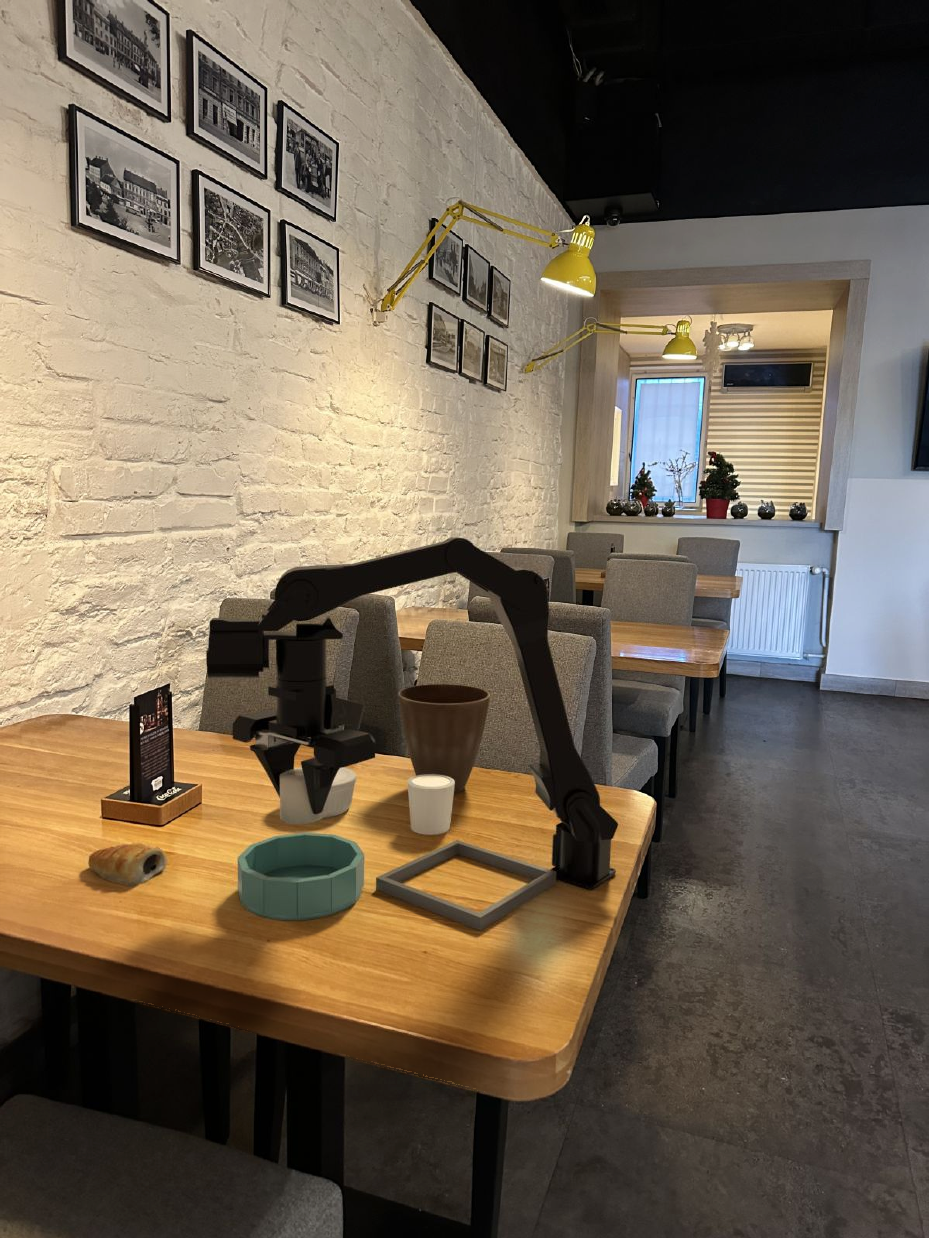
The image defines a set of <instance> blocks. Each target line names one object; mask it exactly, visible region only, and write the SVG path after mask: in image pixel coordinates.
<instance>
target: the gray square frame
mask: <svg viewBox="0 0 929 1238" xmlns="http://www.w3.org/2000/svg"><path fill="white" fill-rule="evenodd" d="M457 855H459V856H462V857H465V858H468V859H472V860H473V861H474V860H475V861H478V862H481V863H483V864H486V865H489V866H493V867H495V868H499V869H501V870H505V871H506V872H507V871H508V872H509V873H510V872H511V873H514V874H516V875H520V876H522V877H525V878H529V879H531V880H532V881H530V882H529V883H527V884H524V886H522V887H520V888H518V889H517V890H515V891H513V892H511V893H510V894H508V895H506V896H505V897H503V898H501V899H500V900H498V901H496V902H495V903H493V904H491V905H490V906H488V907H486V908H484V909H483V910H481V911H475V910H473V909H470V908H468V907H465V906H462V905H460V904H457V903H454V902H452V901H449V900H446V899H444V898H441V897H439V896H436V895H433V894H431V893H427V892H426V891H423V890H420V889H418V888H415V887H412V886H410V885H408V884H404V883H402V882H403V881H405V880H407V879H410V878H411V877H413V876H415V875H417V874H419V873H422V872H423V871H427V870H428V869H430V868H432V867H434V866H436V865H438V864H441V863H442V862H444V861H446V860H448V859H451V858H453V857H455V856H457ZM556 884H557V878H556V872H555V871H552V870H550V869H549V868H546V867H543V866H540V865H536V864H533V863H529V862H527V861H525V860H520V859H518V858H514V857H512V856H508V855H505V854H502V853H498V852H496V851H492V850H490V849H486V848H483V847H480V846H477V845H473V844H470V843H468V842H464V841H461V840H457V839H456V840H455V841H451V842H450V843H448V844H447V843H446V844H445V845H443V846H441V847H438V848H437V849H434V850H433V851H430V852H429V853H426V854H424V855H422V856H419V857H417V858H416V859H414V860H410V861H408V862H407V863H404V864H402V865H400V866H398V867H396V868H394V869H391V870H390V871H387V872H385V873H382V874H380V875H379V876H377V877H375V890H377V892H378V891H379V892H381V893H384V894H386V895H389V896H391V897H394V898H396V899H399V900H402V901H404V902H407V903H409V904H412V905H414V906H417V907H420V908H422V909H424V910H427V911H429V912H431V913H433V914H434V913H435V914H437V915H439V916H442V917H445V918H447V919H449V920H453V921H455V922H458V923H460V924H462V925H465V926H466V927H467V926H468V927H469V928H472V929H475V930H477V931H482V930H483V929H485V928H487V927H488V926H491V925H492V924H493V923H495V922H497V921H498V920H499V919H501V918H503V917H504V916H506V915H508V914H509V913H511V912H512V911H514V910H516V909H517V908H519V907H521V906H522V905H524V904H526V903H527V902H529V901H530V900H532V899H533V898H536V897H537V896H538V895H540V894H541V893H543V892H544V891H546V890H548V889H550V888H551V887H553V886H554V885H556Z"/></svg>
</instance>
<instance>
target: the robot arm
mask: <svg viewBox="0 0 929 1238" xmlns="http://www.w3.org/2000/svg"><path fill="white" fill-rule="evenodd" d="M454 573H455V574H458V575H460V576H461V577H463V578H464V579H466V580H468V581H469V582H471V583H472V584H473V585H475V586H477V587H479V588H480V589H482V590H484V591H485V593H486V592H487V593H488V598H489V600H490V602H491V604H492V606H493V609H494V611H495V614H496V616H497V618H498V620H499V622H500V623H501V626H502V627H503V629H504V631H505V632H506V635H507V636H508V637H509V639H510V641H511V644H512V646H513V650H514V653H515V658H516V661H517V665H518V669H519V672H520V676H521V680H522V683H523V687H524V692H525V695H526V699H527V702H528V706H529V707H528V708H529V711H530V715H531V717H532V721H533V722H532V723H533V726H534V729H535V730H534V731H535V733H536V736H537V742H538V745H539V749H540V750H539V762H538V763H534V764H533V763H532V764H529V766H528V767H529V769H530V772H531V774H532V776H533V778H534V783H535V791H534V792H535V793H534V794H536V796H537V797H538V798H539V799H540V800H541V801H542V803H543V804H544V805H545V806H546V807H547V809H548V810H549V811H553V813H554V814H555V816H556V818H557V819H559V820H560V821H561V822H559V823H557V824H555V833H554V834H553V835H552V843H551V844H552V845H551V846H552V848H551V866H553V867H552V868H551V869H549V870H552V871H555V872H556V880H561V881H564V882H567V883H569V884H572V885H577V886H579V887H582V888H585V889H587V890H588V889H589V890H592V889H595V888H597V887H598V886H599V885H601V884H602V883H604V882H605V881H607V880H608V879H611V877H613V876H614V875H615V874H617V873H616V871H617V870H616V869H615V868H612V867H611V854H612V853H611V851H612V850H611V849H612V840H613V839H614V837H615V834H616V832H617V830H618V829H617V828H618V826H619V823H618V821H617V820H615V818H613V816H612V815H610V814H609V813H608V811H607V810H605V808H603V806H602V805H601V796H600V793H599V791H598V789H597V787H596V785H595V781H594V780H593V778H592V776H591V774H590V772H589V769H588V768H587V767H586V764H585V762H584V761H583V759H582V757H581V755H580V754H579V752H578V750H577V748H576V745H575V742H574V738H573V735H572V731H571V726H570V723H569V718H568V715H567V714H568V713H567V711H566V706H565V703H564V699H563V695H562V691H561V687H560V683H559V680H558V676H557V671H556V667H555V663H554V660H553V659H554V658H553V655H552V651H551V648H550V643H549V637H548V635H549V628H550V627H549V625H550V615H551V614H550V603H549V592H548V586H547V584H546V582H545V580H544V579H543V577H542V576H541V575H539V574H538V573H537V572H535V571H533V570H530V569H526V568H521V567H518V566H514V565H513V566H511V565H510V566H509V565H508V564H506V563H504V562H503V561H501V560H499V559H497V558H496V557H494V556H492V555H491V554H488V553H487V552H486V551H483V550H482V549H480V548H479V547H477V546H475V545H474V543H473V542H471V541H470V540H469V539H466V538H463V537H459V536H454V537H448V538H446V539H445V540H442V541H440V542H436V543H431V544H427V545H424V546H419V547H416V548H412V549H407V550H403V551H399V552H396V553H395V552H394V553H390V554H386V555H383V556H379V557H375V558H371V559H367V560H361V561H359V562H358V561H357V562H354V563H343V564H341V563H340V564H322V565H321V564H320V565H319V564H318V565H317V564H316V565H305V566H304V565H302V566H301V565H300V566H295V567H293V568H290V569H287V570H286V571H285V572H284V573H282V575H281V576H280V578H279V579H278V581H277V583H276V586H275V589H274V600H273V601H272V602H271V604H270V605H269V607H268V608H267V609H264V610H263V611H262V613H261V618H260V619H259V618H257V619H254V618H253V619H249V618H248V619H247V618H246V619H241V618H240V619H239V618H238V619H229V618H226V617H212V618H211V619H210V621H209V632H208V644H207V645H208V646H207V650H206V651H205V652H206V653H205V654H206V655H205V657H206V658H205V660H206V673H207V674H206V675H207V678H208V679H258V678H259V679H260V678H261V673H264V672H265V671H264V669H265V670H270V668H271V640H274V641H275V684H274V685H270V686H267V688H268V689H267V691H268V692H267V693H268V695H267V696H270V697H275V702H276V703H275V705H276V706H275V710H272V709H268V708H267V709H263V710H257V711H253V712H248V713H244V714H239V715H237V717H236V718H235V720H234V721H233V723H232V740H235V741H237V742H238V741H239V742H243V743H246V744H248V743H250V742H252V741H253V739H254V744H251V745H250V746H249V750H250V751H251V752H253V753H254V754H255V756H256V758H257V759H258V761H259V762H260V765H261V767H262V768H263V769H264V771H265V772H266V775H267V776H268V778H269V780H270V782H271V784H272V786H273V787H274V789H275V792H276V794H277V796H278V797H279V799H280V774H281V773H283V772H285V771H288V770H293V769H295V757H296V755H297V752H298V750H299V749H300V747H301V746H304V747H308V748H313V757H312V758H308V759H305V760H302V761H300V764H301V766H300V767H302V770H303V775H304V779H305V784H306V788H307V793H308V797H309V802H310V805H311V809H312V812H313V814H315V815H317V814H319V813H321V812H322V811H323V808H324V805H325V803H326V800H327V797H328V794H329V792H330V789H331V786H332V783H333V781H334V778H335V776H336V774H337V772H338V770H339V769H340V768H343V767H345V768H347V767H349V766H353V765H356V764H359V763H362V762H365V761H369V760H372V759H375V758H376V739H375V738H374V737H373V736H372V734H370V732H364V731H361V730H360V727H361V723H362V719H363V715H364V713H365V712H364V711H365V708H366V705H365V704H363V703H359V702H357V701H354V700H350V699H344V698H342V697H337V688H336V687H335V684H332V683H327V682H328V680H327V678H328V677H327V675H328V674H327V673H328V672H327V671H328V670H327V667H328V666H327V665H328V663H327V660H328V658H327V657H328V655H327V648H328V647H327V646H328V645H327V640H341V639H343V637H344V634H343V630H342V629H341V628H339V626H337V625H336V624H335V623H334V622H333V620H332V617H331V616H329V615H328V616H326V617H325V618H324V619H323V620H322V622H320V623H319V622H317V623H315V622H308V621H310V620H313V619H315V618H317V617H319V616H321V615H322V616H323V615H324V614H327V613H329V612H332V611H333V610H335V609H338V608H339V607H341V606H343V605H345V604H348V603H349V602H352V600H355V599H357V598H360V597H362V596H366V595H370V594H373V593H377V592H382V591H386V590H389V589H394V588H397V587H401V586H405V585H406V586H407V585H409V584H410V585H411V584H413V583H418V582H421V581H425V580H430V579H434V578H437V577H440V576H446V575H449V574H454ZM294 621H295V622H297V623H296V624H295V625H296V627H295V628H296V629H295V630H287V631H286V630H283V631H282V630H281V629H283V628H285V627H286V626H287V625H289V624H290V623H292V622H294ZM306 621H307V622H308V623H307V622H306ZM299 622H300V623H299ZM301 622H306V623H301ZM341 726H342V727H344V726H347V727H351V728H346V729H342V730H338V729H339V728H340V727H341ZM327 730H331V731H332V730H338V731H333V732H330V733H326V732H327Z"/></svg>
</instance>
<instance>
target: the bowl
mask: <svg viewBox="0 0 929 1238" xmlns="http://www.w3.org/2000/svg"><path fill="white" fill-rule="evenodd" d="M364 886H365V853H364V851H363V850H362V849H361V847H360V846H359V845H358V842H356V841H354V840H352V839H348V838H345V837H342V836H340V835H337V834H333V833H332V834H330V833H318V832H298V833H289V834H283V835H282V834H281V835H276V836H275V835H274V836H271V837H268V838H266V839H263V840H261V841H258V842H254V843H252V844H250V845H248V847H246V849H244V850H243V852H241V853H240V854H239V855H238V856H237V890H238V894H239V902H240V903H241V905H242V907H243V908H244V909H245V910H247V911H248V912H250V913H251V914H254V915H256V916H259V917H262V918H266V919H271V920H278V921H289V922H291V921H307V920H315V919H320V918H324V917H328V916H332V915H335V914H338V913H340V912H342V911H345V910H346V909H348V908H350V907H352V906H353V905H354V904H355V903H357V901H358V900H359V899H360V898H361V895H362V891H363V888H364Z"/></svg>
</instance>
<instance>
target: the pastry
mask: <svg viewBox="0 0 929 1238" xmlns="http://www.w3.org/2000/svg"><path fill="white" fill-rule="evenodd" d="M167 857H168V856H167V854H166V853H165V852H164V850H163V849H161V847H159V846H156V847H153V846H150V845H146V844H143V843H140V842H139V843H130V844H129V843H126V844H125V843H123V844H120V845H119V844H118V845H116V846H115V845H114V846H109V847H106V848H102V849H98V850H96V851H94V852H93V853H91V854H90V855H89V856H88V867H89V868H90V869H91V870H92V871H93V872H94V873H95V874H98V875H99V876H100V877H101V878H102V879H103V880H105V881H110V882H114V883H117V884H120V885H125V886H129V887H130V886H138V885H140V884H143V883H146V882H148V881H149V880H150V879H152V878H153V877H154V876H156V875H157V874H159V873H161V872H162V871H164V870H165V869H166V867H167V863H168V858H167Z"/></svg>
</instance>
